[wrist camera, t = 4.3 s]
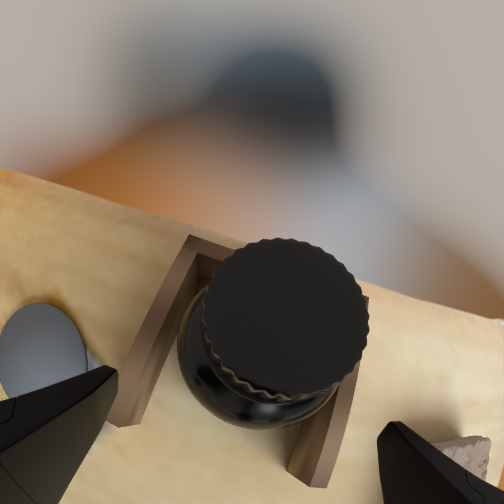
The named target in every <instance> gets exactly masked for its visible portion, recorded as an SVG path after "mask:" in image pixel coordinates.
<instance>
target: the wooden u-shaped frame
mask: <svg viewBox="0 0 504 504" xmlns="http://www.w3.org/2000/svg"><path fill="white" fill-rule="evenodd" d="M234 252H235V250H232V249H229V248H226V247H224V246H221V245H218V244H215V243H212V242H210V241H207V240H204V239H201V238H198V237H195V236H193V235H190V234H189V236H188V237H187V239H186V241H185V243H184V245H183V246H182V248H181V250H180V252H179V254H178V256H177V257H176V259H175V261H174V263H173V265H172V267H171V269H170V271H169V272H168V274H167V276H166V278H165V280H164V282H163V284H162V286H161V288H160V290H159V292H158V294H157V296H156V298H155V300H154V302H153V304H152V306H151V308H150V310H149V312H148V314H147V316H146V318H145V320H144V322H143V324H142V326H141V328H140V331H139V333H138V335H137V337H136V339H135V341H134V343H133V346H132V348H131V350H130V352H129V354H128V357H127V359H126V361H125V363H124V366H123V368H122V370H121V373H120V375H119V377H118V393H117V396H116V398H115V400H114V402H113V405H112V407H111V409H110V411H109V413H108V416H107V418H106V421H108V422H109V423H111V424H113V425H115V426H117V427H118V428H120V427H125V426H131V425H136V424H140V421H141V419H142V416H143V414H144V411H145V409H146V406H147V404H148V401H149V399H150V396H151V394H152V391H153V389H154V387H155V384H156V382H157V379H158V377H159V374H160V372H161V370H162V367H163V365H164V363H165V360H166V358H167V355H168V353H169V351H170V348H171V346H172V344H173V341H174V339H175V337H176V335H177V332H178V330H179V328H180V324H181V321H182V318H183V316H184V314H185V311H186V309H187V308H188V306H189V304H190V303H191V301H192V299H193V296H194V294H195V292H196V290H197V288H198V285H200V286H203V287H205V286H206V285H207V284H208V283H209V282H210V281H211V280H212V279H213V274H214V271H215V270H216V269H217V268H219V267H220V266H222V263H223V261H224V259H225V258H227V257H229V256H232V255H233V253H234ZM363 297H364V298H365V300H366V303H367V305H366V309H367V311H368V302H369V297H367V296H364V295H363ZM359 365H360V361H359V362H358V363H356V364H355V367H354V370H353V372H352V373H351V374H349V375H347V376H345V377H344V379H343V381H342V382H341V383H340V384H339V385H338V387H337V389H336V390H335V392H334V394H333V395H332V396H331V398H330V399H329V400H328V401H327V403H326V404H325V405H324V406H323V407H322V408H321V409H319V410H318V411H317V412H316V413H314V414H313V415H312V416H310V417H308V418H307V419H305V420H303V422H302V426H301V429H300V432H299V435H298V438H297V441H296V444H295V448H294V451H293V453H292V456H291V459H290V462H289V465H288V468H287V472H288V473H290V474H291V475H293V476H294V477H295V478H297V479H298V480H300V481H301V482H303V483H304V484H306V485H307V486H309V487H316V488H327V485H328V483H329V480H330V477H331V474H332V471H333V468H334V465H335V462H336V459H337V456H338V453H339V449H340V446H341V443H342V439H343V436H344V432H345V428H346V424H347V421H348V417H349V413H350V408H351V404H352V400H353V395H354V391H355V386H356V381H357V376H358V371H359Z"/></svg>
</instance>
